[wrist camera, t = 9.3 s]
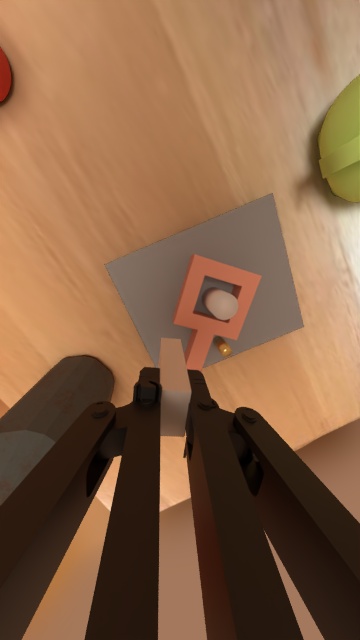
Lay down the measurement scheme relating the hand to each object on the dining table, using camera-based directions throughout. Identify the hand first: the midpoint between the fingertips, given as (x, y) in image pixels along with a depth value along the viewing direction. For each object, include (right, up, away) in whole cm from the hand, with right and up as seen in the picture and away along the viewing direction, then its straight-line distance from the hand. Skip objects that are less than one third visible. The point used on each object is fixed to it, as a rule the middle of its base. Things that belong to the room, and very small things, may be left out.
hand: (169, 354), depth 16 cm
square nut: (+4, +3, +14) cm, 15 cm away
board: (+5, +6, +15) cm, 17 cm away
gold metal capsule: (+7, -1, +16) cm, 17 cm away
